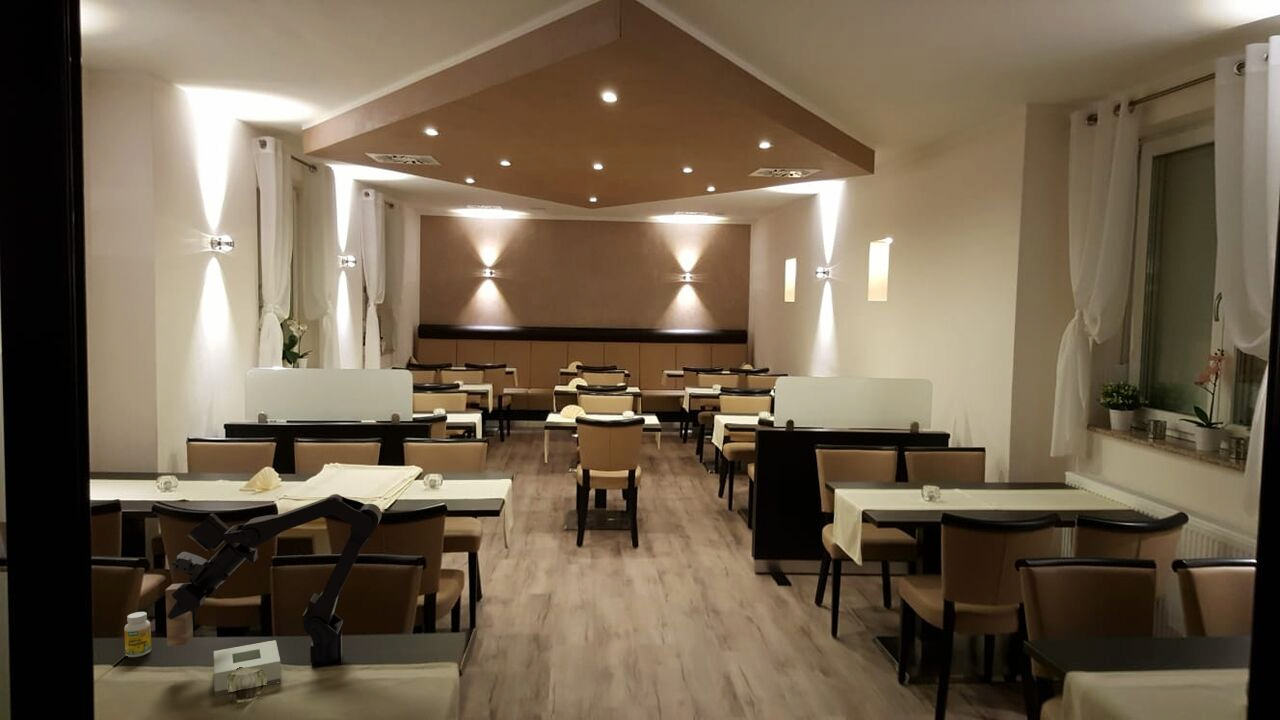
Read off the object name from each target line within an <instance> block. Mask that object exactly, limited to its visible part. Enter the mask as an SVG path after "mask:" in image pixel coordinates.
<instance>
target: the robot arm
mask: <svg viewBox="0 0 1280 720" xmlns="http://www.w3.org/2000/svg"><path fill="white" fill-rule="evenodd" d="M329 515H332V516H335V517H337V518H339V519H340V520H341V521H342V522H345V523H347V524H348V525H350V526H351V527H350V530H349V534H348V538H347V542H346V544H345V547H344V548H343V551H342V552H341V554H340V556H339V558H338V561H337V563H336V564H335V567H334V569H333V570H332V573H331V574H330V576H329V579H328V580H327V582H326V585H325V587H324V589H323V590H322V592H321V593H320V595H319V594H318V593H316V592H314V594H313V595H312V596H311V599H310V600H309V602H308V604H307V608H305V611H304V612H303V614H302V616H301V618H302V619H303V621H302V628H303V630H304V632H305V633H307V634H308V635H310V638H311V642H310V648H309V649H310V651H309V652H310V653H309V655H310V657H309V659H310V663H311V664H312V666H311V668H312V669H318V668H325V667H332V666H339V665H342V664H343V657H344V656H343V654H344V653H343V649H342V648H343V647H342V646H343V644H342V643H343V639H342V633H343V632H342V631H340V630H341V628H342V625H343V623H344V620H343V619H342V618H341V617H340V616H339V615H337V614H336V613H335V610H336V608H337V607H336V606H337V603H338V598H339V594H340V592H341V590H342V589H343V587H344V584H345V582H346V581H347V578H348V576H349V574H350V572H351V571H352V568H353V566H354V564H355V562H356V560H357V558H358V555H359V554H360V552H361V550H362V547H363V546H364V545H365V544H366V543H367V541H368V540H369V539H370V537H371V535H373V533H374V532H375V530H376V529H377V528H378V526H379V523H380V521H381V519H382V511H381V509H380V507H379V505H376V504H374V503H364V502H361V501H360V500H355V499H351V498H348V497H345V496H342V495H340V494H337V493H335V494H331V495H329V496H328V497H325V498H322V499H319V500H317V501H313V502H310V503H308V504H305V505H302V506H299V507H297V508H294V509H291V510H289V511H288V510H287V511H286V512H283V513H278V514H270V515H269V514H268V515H263V516H258V517H253V518H251V519H249V521H248V522H246V523H240V524H235V525H233V526H231V527H229V526H228V525H227V524H226V523H224V521H222V520H221V519H220V518H219V517H218V516H217V514H215V513H211V514H209V515H208V516H207V517H206V518H205V519H204V520H203V521H202V522H200V523H198V524H197V525H196V526H195V527H194V528H193V529H191V531H190V532H189V533H188V534H187V536H188V537H189V538H190V539H191V540H193V541H194V542H195V543H197V544H198V545H199V546H200V547H202V548H203V549H204V550H205V551H206V552H208V551H209V552H211V551H212V550H213V551H216V550H217V549H218V548H219V547H220V546H222V544H223V543H224V542H226V543H225V544H224V545H223V546H222V547H221V548H220V549H219V550H217V552H216V553H215V554H214V555H213V556H212V555H211V556H210V557H209V558H208V559H206V558H203V557H202V556H199V555H197V554H194V553H191V552H189V551H182V552H180V553H179V554H177V555H176V558H175V559H174V561H173V562H172V564H171V568H170V569H171V571H174V572H178V573H181V574H185V575H188V576H189V577H188V579H189V580H188V582H184V583H183V582H182V583H183V584H182V585H181V586H180V587H179V588H178V589H177V590H176V591H175V592H174V593H173V594H172V597H173V598H174V599H175V600H177V602H176V603H175V605H174V607H173V608H172V610H171V611H170V613H169V614H168V616H167V617H168V618H170V619H173V618H175V617H177V616H180V615H182V614H184V613H187V612H189V611H191V612H192V613H196V611H197V610H199V608H201V606H202V605H203V604H204V603H205V602H206V599H207V598H209V597H210V596H211V595H212V594H213V593H214V591H216V590H218V589H219V587H221V586H222V585H223V584H224V582H226V579H228V578H229V577H230V576H231V574H232V573H234V571H235V570H237V568H238V567H240V566H241V564H243V562H244V561H245V560H247V561H248V562H249V563H251V564H253V563H255V561H256V560H257V559H259V555H258V549H259V548H257V547H259V546H261V545H262V544H264V543H266V542H269V540H271V539H273V538H274V537H276V536H278V535H280V534H281V533H283V532H284V531H285V532H286V531H287V530H290V529H293V528H296V527H299V526H302V525H304V524H308V523H311V522H312V521H316V520H318V519H321V518H324V517H327V516H329ZM190 583H191V584H190Z"/></svg>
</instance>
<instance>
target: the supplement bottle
mask: <svg viewBox="0 0 1280 720" xmlns="http://www.w3.org/2000/svg"><path fill="white" fill-rule="evenodd" d="M147 615H148V614H147V612H146V611H137V612H132V613H130V614H128V615H127V616H126V620H127V624H125V626H124V629H123V630H124V653H125V656H126V657H127V656H128V657H127V658H137V657H142V656H145V655H147V654H149V653H150V652H151V651H152V632H151V631H152V630H151V629H152V627H151V622H150V620H148V616H147Z"/></svg>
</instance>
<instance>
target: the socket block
mask: <svg viewBox="0 0 1280 720" xmlns="http://www.w3.org/2000/svg"><path fill="white" fill-rule="evenodd" d="M278 649H279V648H278V644H277V640H276V639H275V640H269V641H263V642H262V641H261V642H258V643H252V644H246V645H239V646H236V647H230V648H224V649H219V650H213V673H214V674H213V677H214V685H213V686H214V697H219V696H222V695H228V694H229V693H228V690H227V676H228V674H230V673H232V672H233V671H235V670H236V669H237V668H239V667H243V668H245V667H246V668H250V667H257V668H261V669H263V670H264V671H265V672H266V676H267V683H266V684H267V686H271V684H272V685H275V684H274V683H276V684H278V683H277V682H280V681H281V682H282V680H281V678H282V677H281V676H282V675H281V658H280V654H279V653H280V652H279V650H278Z"/></svg>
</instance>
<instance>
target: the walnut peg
mask: <svg viewBox="0 0 1280 720" xmlns="http://www.w3.org/2000/svg"><path fill="white" fill-rule="evenodd" d="M182 584H183V582H182V583H172V584H171V585H170V586H168V587H166V588H165V593H164V594H165V611H166V613H165V615H166V619H165V621H166V642H167V643H166V644H167V645H166V646H167V647H174V646H185V645H188V644H189V643H190V641H191V640H193V638H194V630H193V629H194V624H193V612H191V611H189V612H187V613H184V614H182V615H180V616H177V617H175V618H173V619H170V618H168V617H167V616H168V614H169V613H170V611H171V610H172V608H173V607H174V605H175V603H176V602H177V600H175V599H174V598H173V597H172V594H173V593H174V592H175V591H176V590H177V589H178V588H179V587H180V586H181V585H182ZM190 584H191V583H190Z"/></svg>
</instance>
